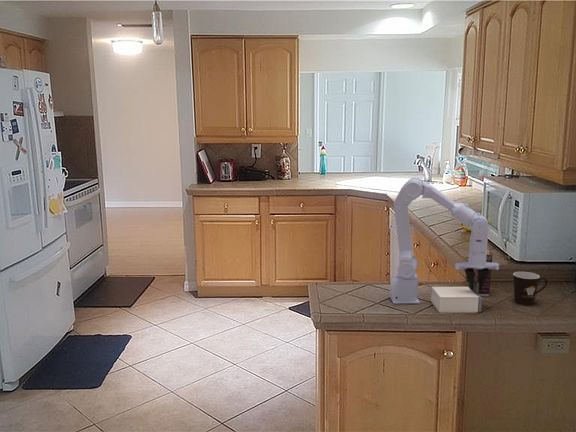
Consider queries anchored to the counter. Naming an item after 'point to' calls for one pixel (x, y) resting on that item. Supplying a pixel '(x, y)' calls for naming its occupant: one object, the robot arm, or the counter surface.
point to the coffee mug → (526, 287)
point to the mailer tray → (476, 290)
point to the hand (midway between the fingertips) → (475, 289)
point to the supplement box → (486, 284)
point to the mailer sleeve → (454, 299)
